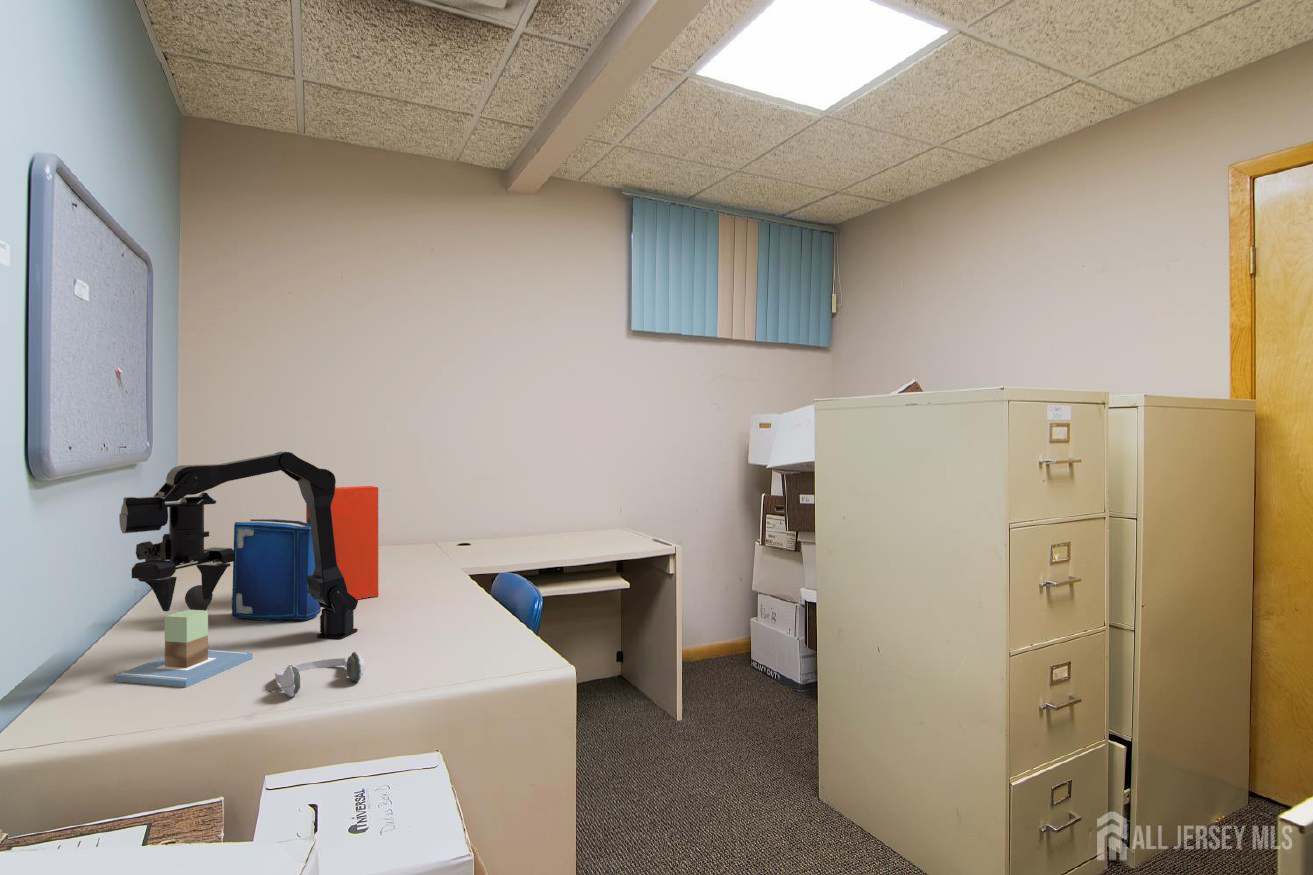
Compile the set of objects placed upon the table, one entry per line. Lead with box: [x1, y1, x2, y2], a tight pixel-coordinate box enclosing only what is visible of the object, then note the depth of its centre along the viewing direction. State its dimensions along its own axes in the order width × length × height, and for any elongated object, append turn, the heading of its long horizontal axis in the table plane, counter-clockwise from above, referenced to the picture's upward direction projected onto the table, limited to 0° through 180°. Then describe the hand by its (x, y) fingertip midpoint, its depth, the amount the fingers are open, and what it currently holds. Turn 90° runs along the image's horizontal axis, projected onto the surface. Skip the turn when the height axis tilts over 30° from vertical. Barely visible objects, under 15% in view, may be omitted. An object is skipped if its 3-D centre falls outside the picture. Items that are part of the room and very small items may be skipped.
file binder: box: [305, 485, 379, 600], centre depth 188 cm, size 8×17×32 cm, turn 131°
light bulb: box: [184, 584, 214, 611], centre depth 161 cm, size 6×6×10 cm
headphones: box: [268, 651, 366, 698], centre depth 124 cm, size 17×6×20 cm
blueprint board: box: [113, 649, 254, 688], centre depth 132 cm, size 16×16×1 cm
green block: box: [164, 609, 209, 643], centre depth 132 cm, size 5×5×5 cm
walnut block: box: [164, 634, 209, 668], centre depth 132 cm, size 5×5×5 cm
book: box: [231, 518, 322, 622], centre depth 169 cm, size 22×7×25 cm, turn 84°
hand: (186, 605), depth 132 cm, fingers open, 9 cm apart
